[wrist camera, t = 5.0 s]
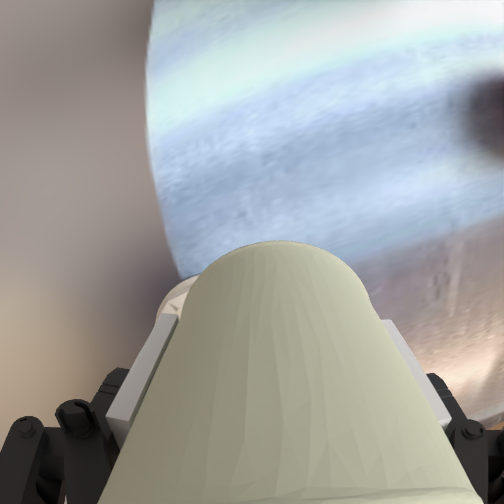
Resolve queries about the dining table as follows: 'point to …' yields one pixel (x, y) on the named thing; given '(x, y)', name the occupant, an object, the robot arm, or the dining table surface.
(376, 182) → the dining table surface
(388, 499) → the can
